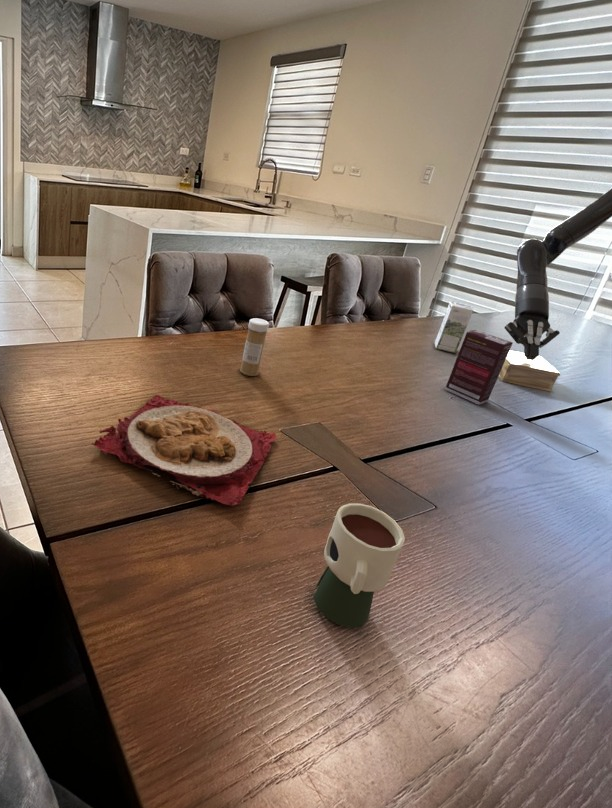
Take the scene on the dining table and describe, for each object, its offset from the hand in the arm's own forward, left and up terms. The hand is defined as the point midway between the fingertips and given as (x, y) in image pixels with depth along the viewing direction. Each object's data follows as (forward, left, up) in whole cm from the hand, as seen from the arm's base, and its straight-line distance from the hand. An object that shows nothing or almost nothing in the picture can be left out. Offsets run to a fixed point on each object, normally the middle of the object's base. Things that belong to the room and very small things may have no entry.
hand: (531, 358), depth 127 cm
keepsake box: (0, -2, -7) cm, 7 cm away
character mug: (+52, +96, -7) cm, 109 cm away
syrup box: (+16, -15, -7) cm, 23 cm away
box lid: (0, -2, -2) cm, 3 cm away
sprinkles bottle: (+71, +36, -7) cm, 80 cm away
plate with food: (+77, +72, -7) cm, 106 cm away
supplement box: (+19, +20, -7) cm, 28 cm away
